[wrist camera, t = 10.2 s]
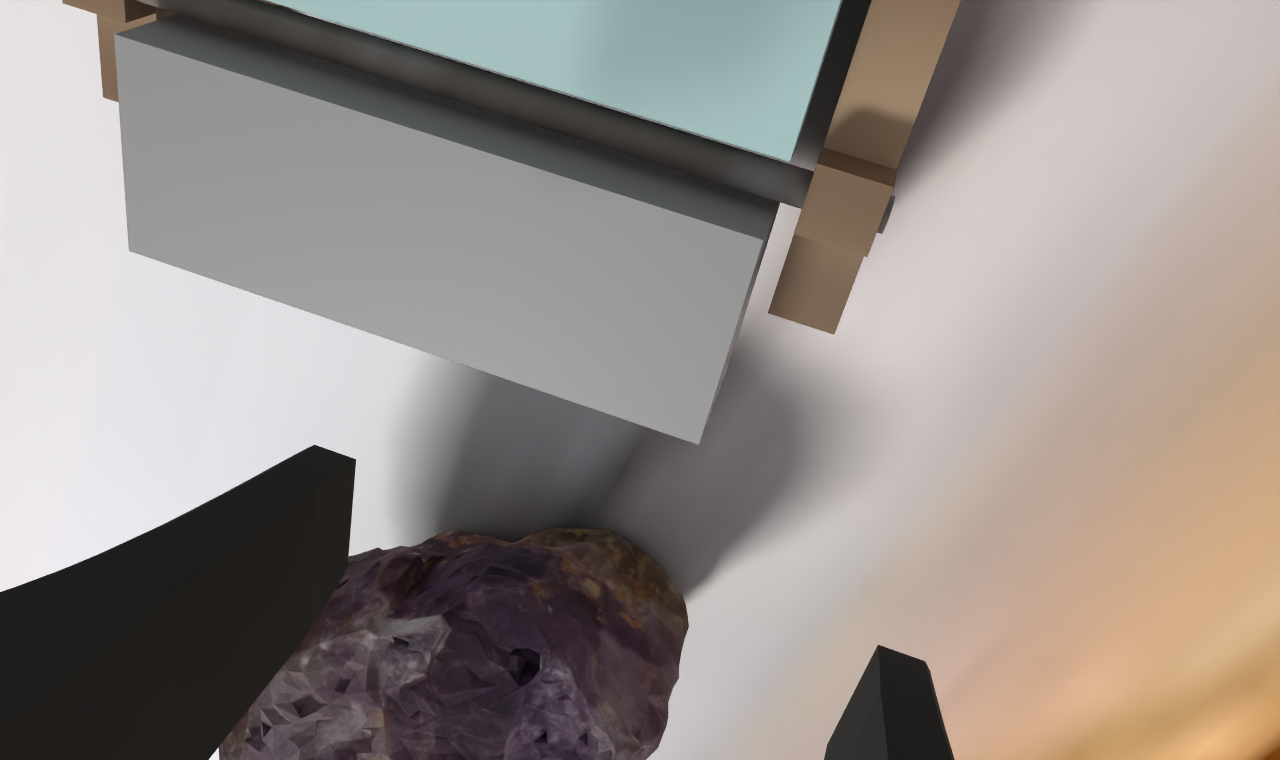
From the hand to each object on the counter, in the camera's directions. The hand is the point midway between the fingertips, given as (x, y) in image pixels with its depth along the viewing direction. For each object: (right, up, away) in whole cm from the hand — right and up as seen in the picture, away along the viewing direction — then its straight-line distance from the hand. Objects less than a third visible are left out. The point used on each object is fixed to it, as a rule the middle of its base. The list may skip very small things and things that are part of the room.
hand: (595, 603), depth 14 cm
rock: (-3, -3, +16) cm, 17 cm away
